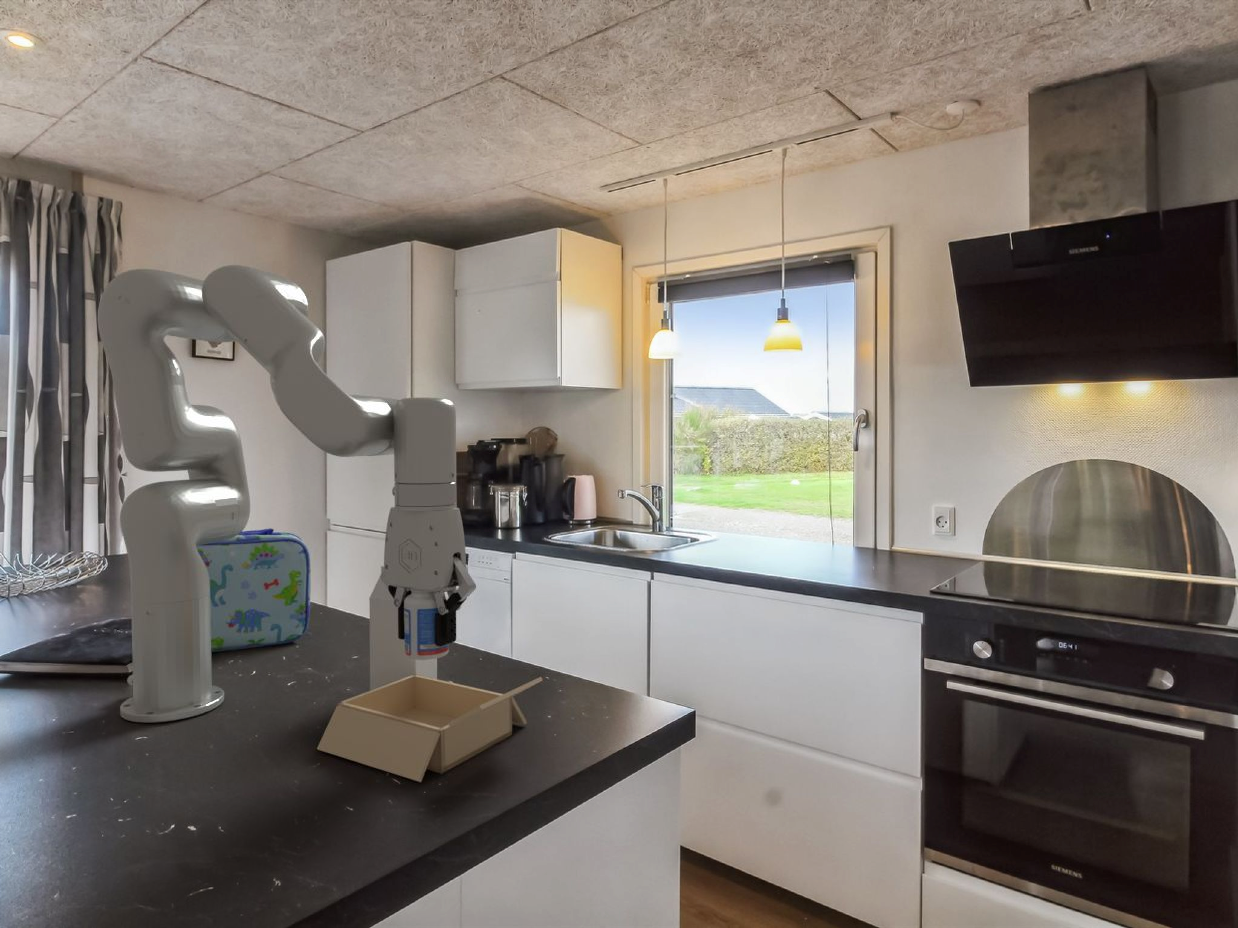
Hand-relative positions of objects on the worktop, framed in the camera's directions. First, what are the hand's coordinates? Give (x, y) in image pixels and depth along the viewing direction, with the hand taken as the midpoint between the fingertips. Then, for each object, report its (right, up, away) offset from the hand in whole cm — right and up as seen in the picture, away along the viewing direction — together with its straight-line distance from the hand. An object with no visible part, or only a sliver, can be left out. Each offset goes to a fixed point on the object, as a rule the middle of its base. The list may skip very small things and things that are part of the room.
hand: (427, 638), depth 97 cm
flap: (+8, -8, -4) cm, 11 cm away
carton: (-2, -13, +1) cm, 13 cm away
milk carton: (-7, -12, +16) cm, 22 cm away
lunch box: (-45, -11, +41) cm, 62 cm away
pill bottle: (0, -2, 0) cm, 2 cm away
